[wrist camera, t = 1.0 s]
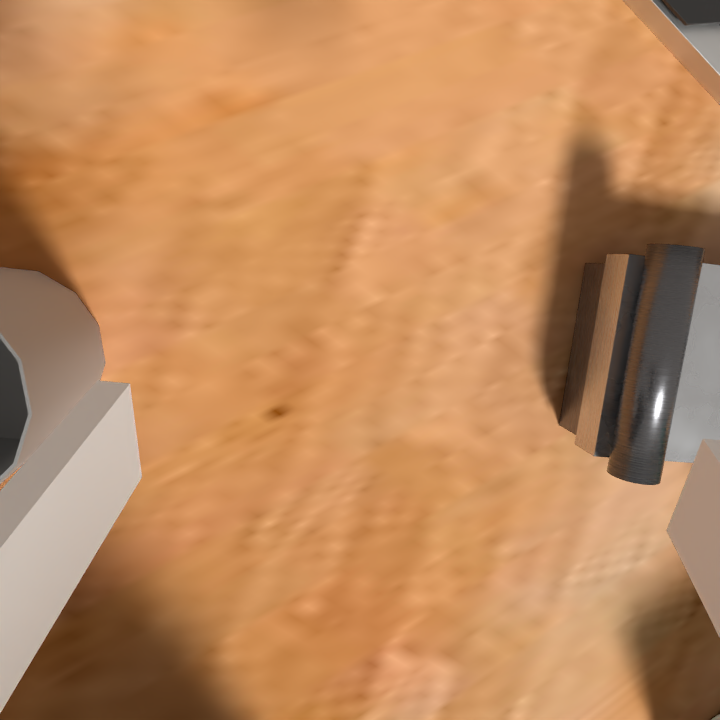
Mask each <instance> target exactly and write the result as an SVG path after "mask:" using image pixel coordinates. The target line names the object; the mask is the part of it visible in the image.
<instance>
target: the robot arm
mask: <svg viewBox="0 0 720 720" xmlns="http://www.w3.org/2000/svg"><path fill="white" fill-rule="evenodd" d="M141 478H142V473H141V466H140V458H139V450H138V442H137V435H136V427H135V419H134V411H133V404H132V396H131V388H130V384H128V383H118V382H107V381H97V382H96V383H95V384H94V385H93V386H92V388H91V389H90V390H89V391H88V392H87V393H86V394H85V395H84V397H83V398H82V399H81V400H80V401H79V402H78V403H77V404H76V406H75V407H74V408H73V409H72V410H71V411H70V412H69V414H68V415H67V416H66V417H65V418H64V419H63V420H62V421H61V423H60V424H59V425H58V426H57V427H56V428H55V429H54V430H53V432H52V433H51V434H50V435H49V436H48V437H47V438H46V440H45V441H44V442H43V443H42V444H41V445H40V446H39V447H38V449H37V450H36V451H35V452H34V453H33V454H32V455H31V456H30V458H29V459H28V460H27V461H26V462H25V463H24V464H23V466H22V467H21V468H20V469H19V470H18V471H17V472H16V473H15V475H14V476H13V477H12V478H11V479H10V480H9V481H8V482H7V484H6V485H5V486H4V487H3V488H2V489H1V490H0V713H1V711H2V710H3V708H4V706H5V705H6V703H7V701H8V700H9V698H10V696H11V695H12V693H13V691H14V690H15V688H16V686H17V685H18V683H19V681H20V680H21V678H22V676H23V675H24V673H25V671H26V670H27V668H28V666H29V665H30V663H31V661H32V660H33V658H34V656H35V655H36V653H37V651H38V650H39V648H40V646H41V645H42V643H43V641H44V640H45V638H46V636H47V635H48V633H49V631H50V630H51V628H52V626H53V625H54V623H55V621H56V620H57V618H58V616H59V615H60V613H61V611H62V610H63V608H64V606H65V605H66V603H67V601H68V600H69V598H70V596H71V595H72V593H73V591H74V589H75V588H76V586H77V584H78V583H79V581H80V579H81V578H82V576H83V574H84V573H85V571H86V569H87V568H88V566H89V564H90V563H91V561H92V559H93V558H94V556H95V554H96V553H97V551H98V549H99V548H100V546H101V544H102V543H103V541H104V539H105V538H106V536H107V534H108V533H109V531H110V529H111V528H112V526H113V524H114V523H115V521H116V519H117V518H118V516H119V514H120V513H121V511H122V509H123V508H124V506H125V504H126V503H127V501H128V499H129V498H130V496H131V494H132V493H133V491H134V489H135V488H136V486H137V484H138V483H139V481H140V479H141ZM667 532H668V534H669V536H670V538H671V540H672V542H673V545H674V547H675V549H676V551H677V553H678V555H679V557H680V559H681V561H682V563H683V565H684V567H685V569H686V571H687V573H688V575H689V577H690V579H691V581H692V583H693V585H694V587H695V589H696V591H697V593H698V595H699V597H700V599H701V601H702V603H703V605H704V607H705V609H706V611H707V613H708V615H709V617H710V619H711V621H712V623H713V625H714V627H715V629H716V632H717V634H718V636H719V638H720V440H712V439H702V442H701V445H700V447H699V450H698V452H697V455H696V457H695V460H694V462H693V465H692V467H691V470H690V472H689V475H688V477H687V480H686V482H685V485H684V487H683V490H682V492H681V495H680V497H679V500H678V502H677V505H676V507H675V510H674V512H673V515H672V518H671V520H670V523H669V525H668V528H667Z"/></svg>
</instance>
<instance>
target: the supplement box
mask: <svg viewBox="0 0 720 720" xmlns="http://www.w3.org/2000/svg"><path fill="white" fill-rule="evenodd" d="M711 720H720V714H719V715H717V716H716V717H714V718H713V719H711Z"/></svg>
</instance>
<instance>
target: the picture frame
mask: <svg viewBox="0 0 720 720" xmlns="http://www.w3.org/2000/svg"><path fill="white" fill-rule="evenodd" d="M623 1H624V2H625V4H626V5H627V6H628V7H629V8H630V9H631V10H632V11H633V12H634V13H635V14H636V15H637V17H638V18H639V19H640V20H641V21H642V22H643V23H644V24H645V25H646V26H647V27H648V28H649V29H650V31H651V32H652V33H653V34H654V35H655V36H656V37H657V38H658V39H659V40H660V41H661V42H662V43H663V45H664V46H665V47H666V48H667V49H668V50H669V51H670V52H671V53H672V54H673V55H674V56H675V57H676V59H677V60H678V61H679V62H680V63H681V64H682V65H683V66H684V67H685V68H686V69H687V70H688V71H689V73H690V74H691V75H692V76H693V77H694V78H695V79H696V80H697V81H698V82H699V83H700V84H701V85H702V87H703V88H704V89H705V90H706V91H707V92H708V93H709V94H710V95H711V96H712V97H713V98H714V100H715V101H716V102H717V103H718V104H719V105H720V0H623Z"/></svg>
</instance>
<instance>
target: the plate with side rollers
mask: <svg viewBox="0 0 720 720" xmlns="http://www.w3.org/2000/svg"><path fill="white" fill-rule="evenodd" d="M704 253H705V249H704V248H699V247H691V246H682V245H669V244H647V249H646V255H645V256H640V255H632V254H607V256H606V262H605V264H595V263H586V264H585V270H584V276H583V282H582V288H581V294H580V300H579V307H578V313H577V319H576V325H575V331H574V337H573V343H572V349H571V355H570V361H569V367H568V373H567V380H566V386H565V392H564V398H563V404H562V410H561V416H560V422H559V425H560V426H562V427H563V428H565V429H567V430H568V431H570V432H572V433H574V434H575V435H576V440H575V445H577V446H578V447H580V448H582V449H583V450H585V451H586V452H588V453H590V454H591V455H593V456H598V457H609V462H608V468H607V472H608V473H609V474H611V475H612V476H614V477H617V478H619V479H622V480H625V481H629V482H633V483H638V484H645V485H656V484H659V483H660V481H661V476H662V471H663V466H664V461H675V462H690V463H693V462H694V460H695V457H696V455H697V452H698V450H699V447H700V445H701V442H702V439H712V440H720V265H714V264H706V263H703V258H704Z"/></svg>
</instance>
